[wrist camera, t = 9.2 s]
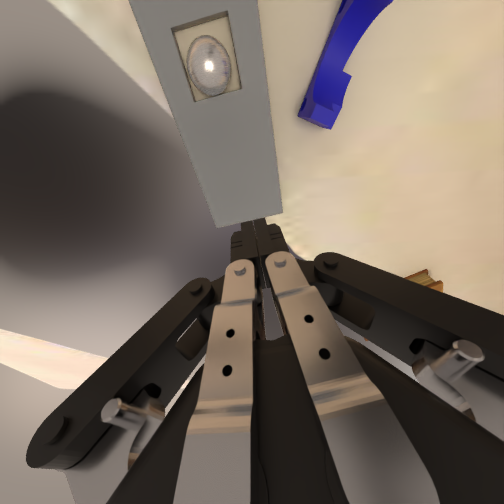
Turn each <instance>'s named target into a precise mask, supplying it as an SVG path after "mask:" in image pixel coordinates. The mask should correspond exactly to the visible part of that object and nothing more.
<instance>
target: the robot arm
mask: <svg viewBox="0 0 504 504" xmlns="http://www.w3.org/2000/svg"><path fill="white" fill-rule="evenodd" d="M253 221H254V225H253ZM253 221H252V220H251V221H246V222H242V223H241V231H238V232H234V233H233V235H232V237H231V263H230V265H229V266H228V267H227V269H226V273H225V275H224V276H222V277H221V278H219V279H217V280H214V281H212V282H210V281H209V280H208V279H207V278H197V279H194V280H192V281H190V282H189V283H188V284H186V285H185V286H184V287H183V288H182V289H181V290H180V291H179V292H178V293H177V294H176V295H175V296H174V297H173V298H172V299H171V300H170V301H168V302H167V303H166V304H165V305H164V306H163V307H162V308H161V309H160V310H159V311H158V312H157V313H156V314H155V315H154V316H153V317H152V318H151V319H150V320H149V321H147V323H145V324H144V325H143V326H142V327H141V328H140V329H139V330H138V331H137V332H136V333H135V334H134V335H133V336H132V337H131V338H130V339H129V340H128V341H127V342H126V343H124V344H123V345H122V346H121V347H120V349H118V350H117V351H116V352H115V353H114V354H113V355H112V356H111V357H110V358H109V359H108V360H107V361H106V362H105V363H103V364H102V365H101V366H100V367H99V368H98V369H97V370H96V371H95V372H94V373H93V374H92V375H91V376H90V377H89V378H88V379H87V380H86V381H85V382H84V383H82V384H81V385H80V386H79V387H78V388H77V389H76V390H75V391H74V392H73V393H72V394H71V395H70V396H69V397H68V398H67V399H66V400H65V401H64V402H63V403H62V404H60V405H59V406H58V407H57V408H56V409H55V410H54V411H53V412H52V413H51V414H50V415H49V416H48V417H47V418H46V419H45V420H44V422H43V423H42V424H41V425H40V427H39V428H38V429H37V431H36V433H35V434H34V436H33V438H32V440H31V442H30V444H29V446H28V449H27V454H26V462H27V464H28V466H30V467H31V468H44V469H55V470H57V471H61V472H64V473H65V474H66V477H67V480H68V483H69V486H70V489H71V492H72V495H73V498H74V501H75V504H504V315H501V314H499V313H496V312H493V311H491V310H488V309H485V308H483V307H480V306H477V305H475V304H472V303H469V302H467V301H464V300H461V299H459V298H456V297H453V296H451V295H448V294H445V293H442V292H440V291H437V290H434V289H432V288H429V287H426V286H424V285H421V284H418V283H416V282H413V281H410V280H408V279H405V278H402V277H400V276H397V275H394V274H392V273H389V272H386V271H384V270H381V269H378V268H376V267H373V266H370V265H368V264H365V263H362V262H359V261H357V260H354V259H351V258H349V257H346V256H343V255H341V254H338V253H334V252H326V253H322V254H319V255H318V256H316V258H315V259H314V261H304V260H299V259H296V258H294V256H293V255H292V254H290V252H289V249H288V247H287V244H286V242H285V239H284V237H283V234H282V231H281V229H280V227H279V226H278V225H276V224H275V223H274V224H270V225H267V224H266V220H265V217H264V218H260V219H255V220H253ZM254 227H255V230H254ZM255 233H256V234H255ZM256 238H257V239H256ZM262 268H263V270H262ZM263 272H264V276H263ZM264 277H265V281H266V285H267V288H271V292H272V297H273V301H274V304H275V307H276V311H277V314H278V318H279V321H280V324H281V327H282V331H283V334H284V336H282V337H280V338H278V339H276V340H272V341H270V340H266V334H265V319H264V304H263V293H262V289H264V288H266V286H265V281H264ZM196 318H197V320H196V321H195V322H194V323H193V324H192V325H191V323H192V322H193V321H194V320H195V319H196ZM335 320H337V321H338V322H340V323H342V324H343V325H345V326H346V327H348V328H350V329H351V330H353V331H354V332H356V333H358V334H360V335H361V336H363V337H364V338H366V339H367V340H369V341H371V342H372V343H374V344H375V345H377V346H379V347H380V348H382V349H383V350H385V351H387V352H389V353H390V354H392V355H394V356H395V357H397V358H398V359H400V360H401V361H403V362H405V363H406V364H408V365H409V366H411V367H412V371H413V373H414V375H415V377H416V379H417V380H418V381H419V383H420V384H419V383H418V382H416V381H415V380H413V379H412V378H410V377H409V376H408V375H406V374H405V373H403V372H402V371H400V370H399V369H397V368H396V367H394V366H393V365H392V364H390V363H389V362H387V361H385V360H384V359H383V358H381V357H380V356H378V355H377V354H375V353H374V352H373V351H371V350H370V349H368V348H366V347H365V346H364V345H362V344H361V343H359V342H357V341H355V340H353V339H351V338H349V337H346V336H344V335H343V334H342V332H341V330H340V328H339V327H338V325H337V323H336V321H335ZM190 325H191V327H190V328H189V329H188V330H187V331H186V332H185V333H184V331H185V330H186V329H187V328H188V327H189V326H190ZM182 333H184V334H183V336H182V337H181V338H180V339H179V340H178V338H179V337H180V336H181V335H182ZM177 340H178V341H177ZM205 354H206V358H205V363H204V364H203V365H202V366H201V367H200V368H199V369H198V371H197V372H196V373H195V375H194V376H193V377H192V379H191V380H190V382H189V383H188V385H187V386H186V388H185V389H184V390H183V392H182V393H181V395H180V397H179V398H178V399H177V401H176V402H175V404H174V405H173V406H172V408H171V409H170V411H169V412H168V414H167V415H166V417H165V408H166V406H167V405H168V404H169V402H170V401H171V399H172V398H173V397H174V396H175V394H176V393H177V392H178V390H179V389H180V388H181V386H182V385H183V384H184V382H185V381H186V380H187V378H188V377H189V375H190V374H191V372H192V371H193V370H194V369H195V367H196V366H197V365H198V363H199V362H200V361H201V359H202V358H203V356H204V355H205Z"/></svg>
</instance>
